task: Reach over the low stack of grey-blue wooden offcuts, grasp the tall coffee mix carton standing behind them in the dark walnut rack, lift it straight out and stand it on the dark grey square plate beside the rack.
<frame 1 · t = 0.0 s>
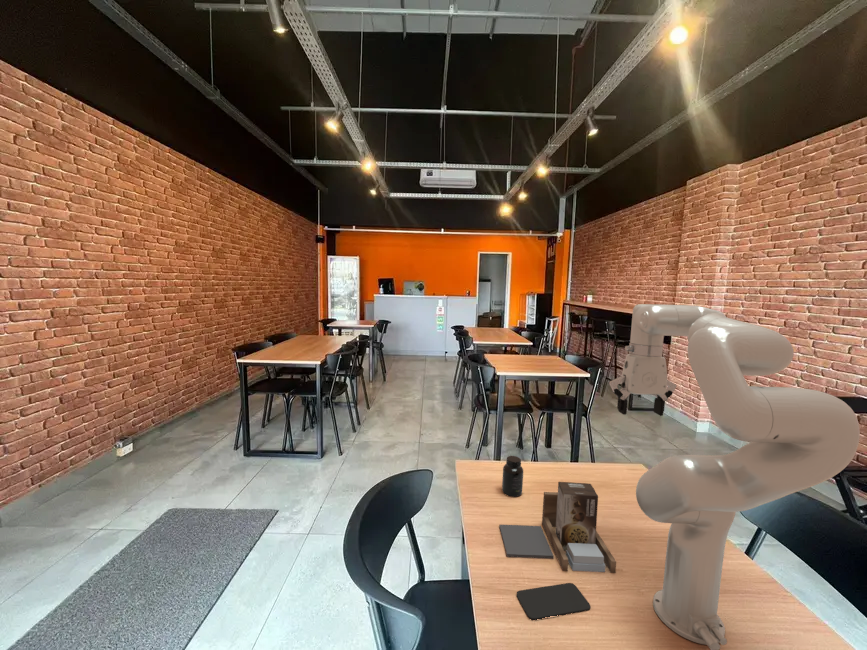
hand: (640, 413, 98), 37 cm above the table, tool pointing down, fingers open, 9 cm apart
phone: (552, 603, 81), on the table
supplement bottle: (511, 492, 125), on the table
coffee box: (573, 544, 100), resting in walnut rack
walnut rack: (575, 546, 99), on the table
dark grey square plate: (524, 541, 100), on the table
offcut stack: (584, 564, 93), on the table
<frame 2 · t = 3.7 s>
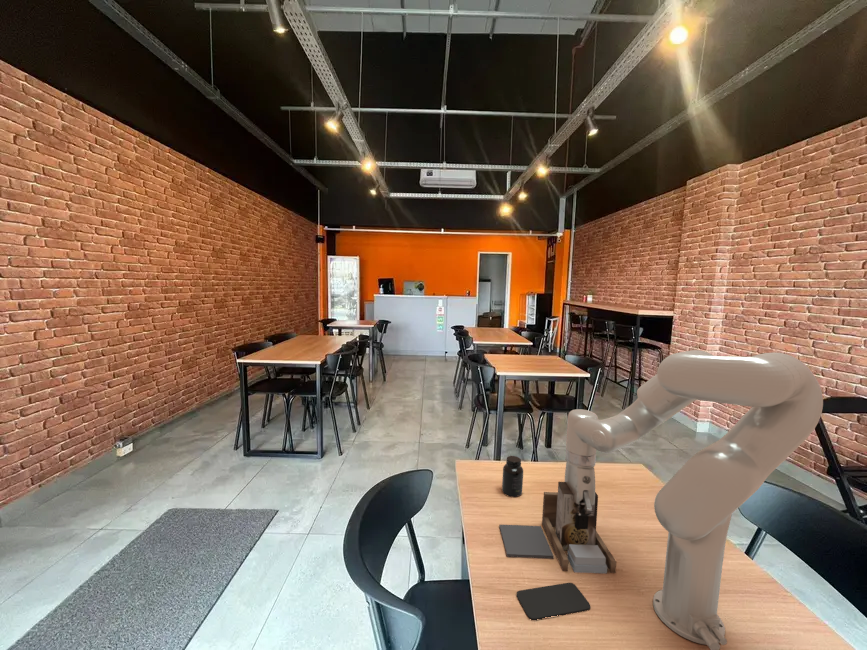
hand: (575, 518, 100), 7 cm above the table, tool pointing down, fingers closed on coffee box, 6 cm apart
coffee box: (573, 544, 100), resting in walnut rack, touching gripper
when the fingers open (9 cm above the table, at t = 10.9 s): coffee box stays where it is, resting on dark grey square plate.
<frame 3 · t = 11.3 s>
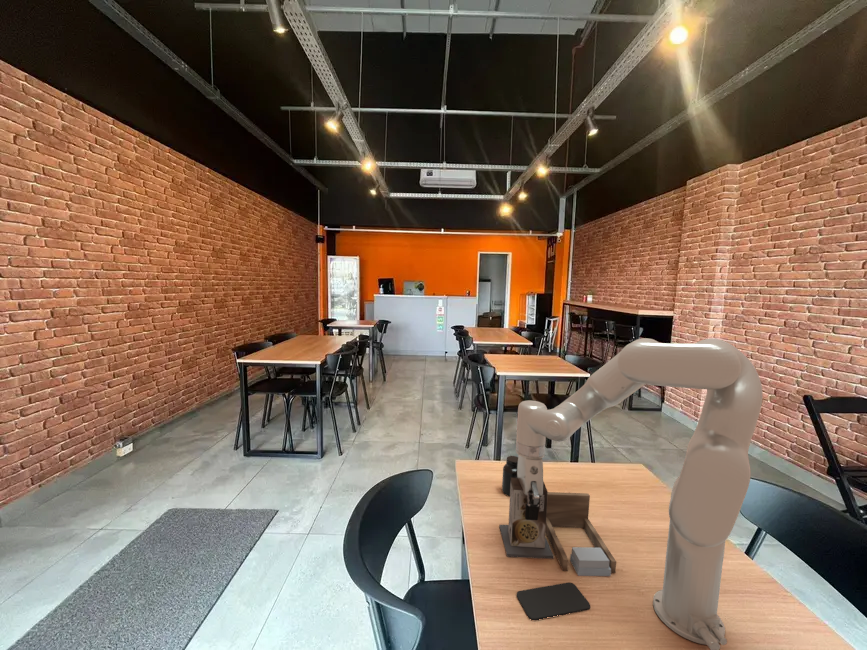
hand: (526, 508, 99), 10 cm above the table, tool pointing down, fingers open, 9 cm apart
coffee box: (525, 540, 100), point 1 cm above the table, touching dark grey square plate
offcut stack: (589, 569, 92), on the table
everything else where it was.
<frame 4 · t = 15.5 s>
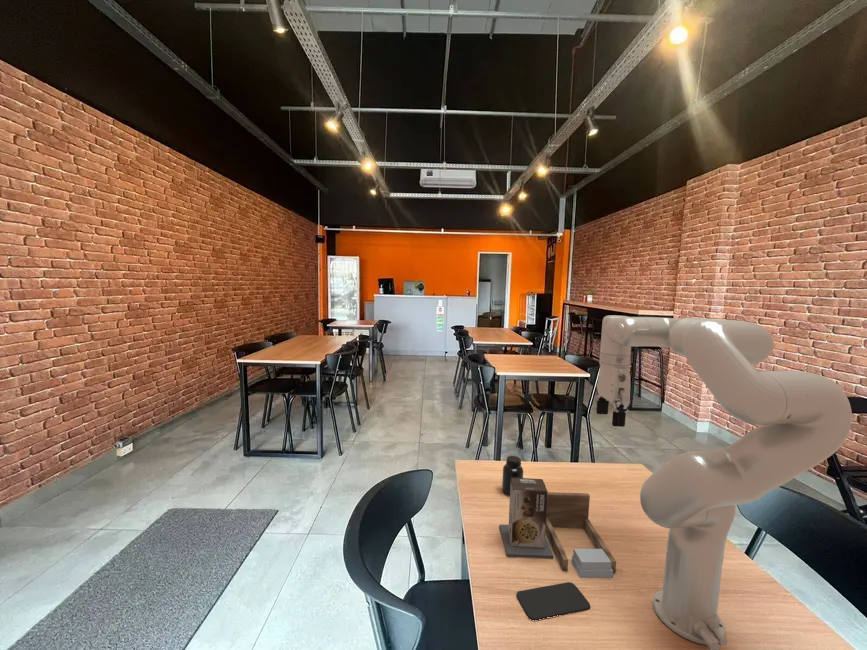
hand: (609, 419, 103), 33 cm above the table, tool pointing down, fingers open, 9 cm apart
at the end: coffee box inside the target area on the dark grey square plate (0.2 cm from its centre), point 0.6 cm above the dark grey square plate's base; coffee box tilted 0°; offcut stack moved 2.2 cm from its start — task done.
